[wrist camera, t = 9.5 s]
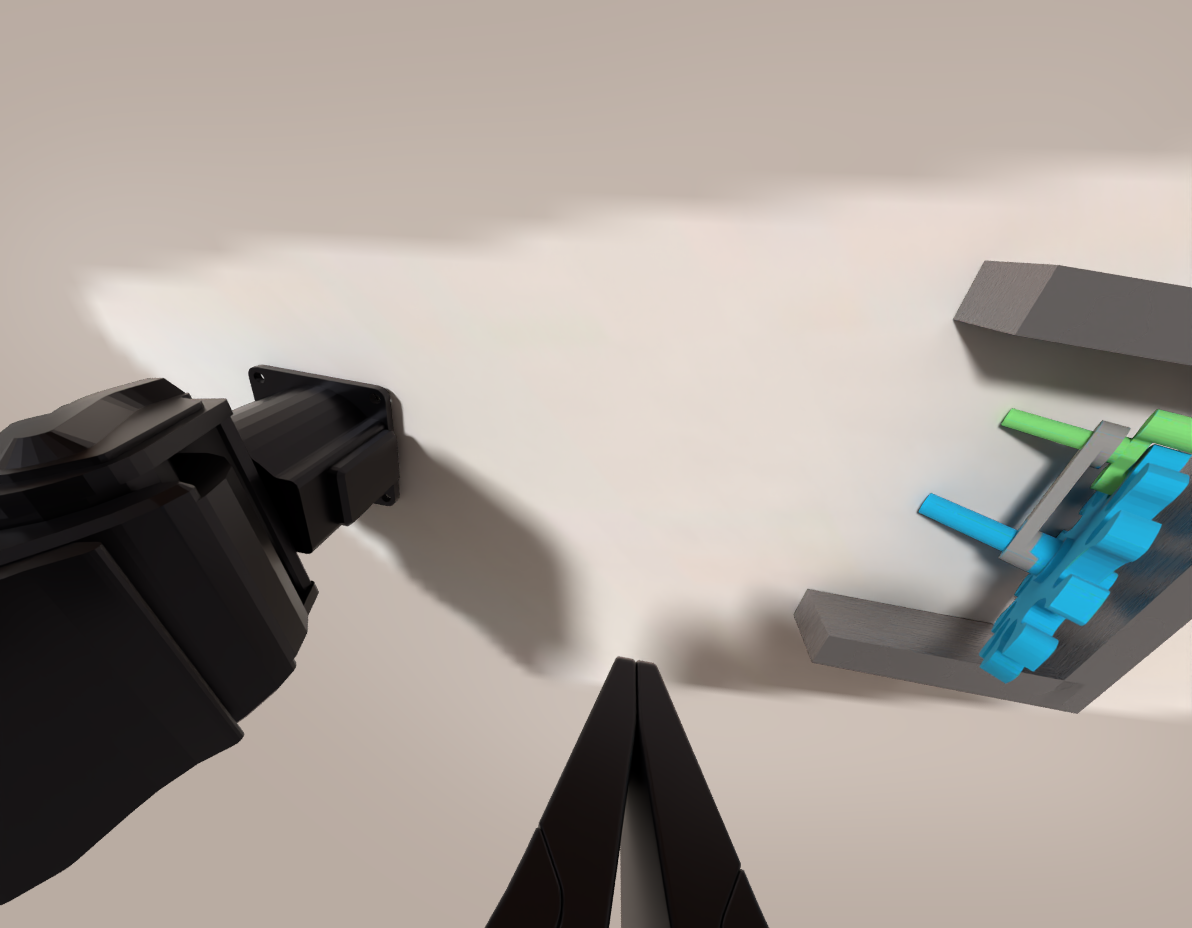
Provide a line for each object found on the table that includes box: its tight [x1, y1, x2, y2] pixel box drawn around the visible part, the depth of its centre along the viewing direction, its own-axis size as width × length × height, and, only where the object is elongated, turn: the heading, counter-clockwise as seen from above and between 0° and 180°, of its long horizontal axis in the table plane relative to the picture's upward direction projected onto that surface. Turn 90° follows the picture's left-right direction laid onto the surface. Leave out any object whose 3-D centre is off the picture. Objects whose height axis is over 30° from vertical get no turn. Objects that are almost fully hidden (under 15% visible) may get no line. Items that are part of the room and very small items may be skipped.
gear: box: [919, 408, 1192, 684], centre depth 17 cm, size 11×6×10 cm
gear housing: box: [794, 261, 1192, 714], centre depth 18 cm, size 13×18×3 cm
